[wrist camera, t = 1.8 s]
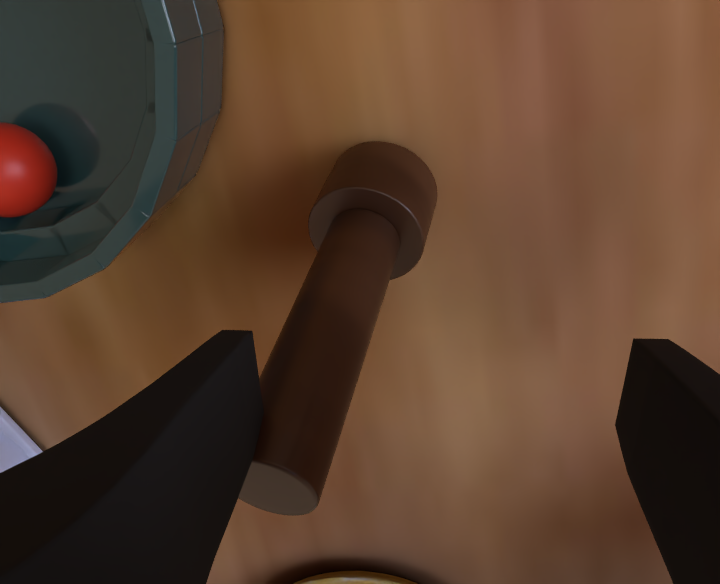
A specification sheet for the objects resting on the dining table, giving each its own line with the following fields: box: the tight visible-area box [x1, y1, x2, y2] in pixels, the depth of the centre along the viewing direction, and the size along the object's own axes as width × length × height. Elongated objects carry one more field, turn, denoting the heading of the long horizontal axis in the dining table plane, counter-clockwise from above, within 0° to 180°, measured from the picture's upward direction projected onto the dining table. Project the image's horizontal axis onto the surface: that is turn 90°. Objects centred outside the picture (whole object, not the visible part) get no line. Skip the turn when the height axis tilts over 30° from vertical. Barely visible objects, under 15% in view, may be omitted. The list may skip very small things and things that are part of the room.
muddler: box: [238, 142, 437, 515], centre depth 16 cm, size 4×4×11 cm
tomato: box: [0, 122, 57, 217], centre depth 19 cm, size 3×3×3 cm
